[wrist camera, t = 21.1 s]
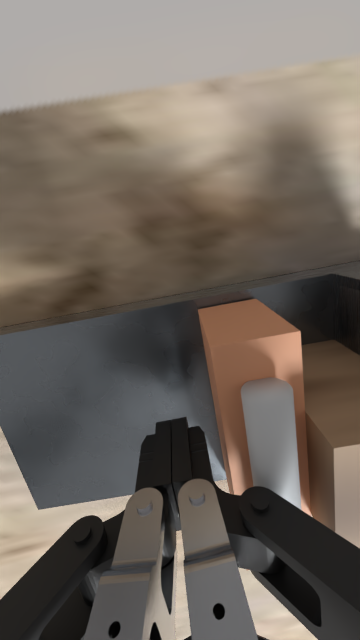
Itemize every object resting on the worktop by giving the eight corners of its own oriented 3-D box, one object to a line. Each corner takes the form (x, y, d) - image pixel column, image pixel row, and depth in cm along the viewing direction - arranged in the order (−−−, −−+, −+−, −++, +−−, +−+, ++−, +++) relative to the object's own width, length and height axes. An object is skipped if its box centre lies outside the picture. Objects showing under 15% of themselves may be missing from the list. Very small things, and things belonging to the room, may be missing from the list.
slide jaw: (273, 468, 17) (332, 604, 10) (226, 475, 17) (256, 615, 11) (256, 298, 14) (325, 348, 7) (197, 309, 14) (216, 367, 7)
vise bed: (384, 428, 19) (530, 560, 11) (51, 482, 19) (-28, 640, 12) (392, 254, 15) (613, 269, 8) (-13, 330, 16) (-184, 413, 8)
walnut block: (335, 416, 16) (452, 546, 9) (268, 427, 16) (336, 563, 9) (333, 339, 14) (471, 426, 8) (260, 352, 15) (333, 448, 8)
